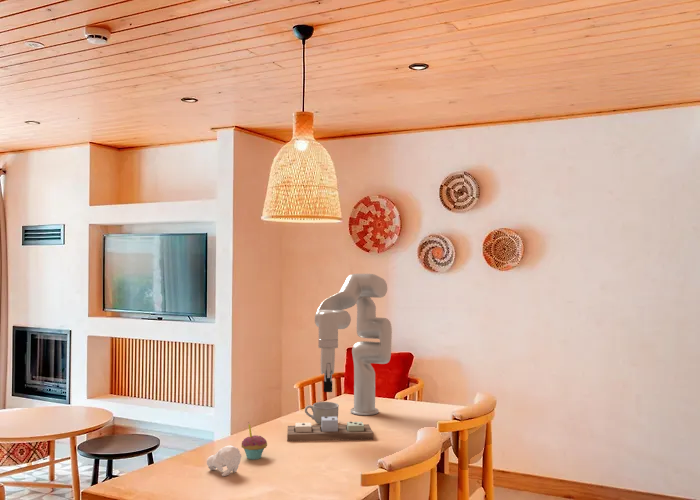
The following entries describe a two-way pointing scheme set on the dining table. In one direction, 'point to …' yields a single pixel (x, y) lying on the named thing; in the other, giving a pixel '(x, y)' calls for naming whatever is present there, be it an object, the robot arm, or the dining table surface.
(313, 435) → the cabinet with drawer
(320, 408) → the teacup
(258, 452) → the cupcake
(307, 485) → the dining table surface
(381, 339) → the robot arm
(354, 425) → the pale green block
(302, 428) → the cream square block
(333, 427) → the white die
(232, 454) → the white animal figurine
